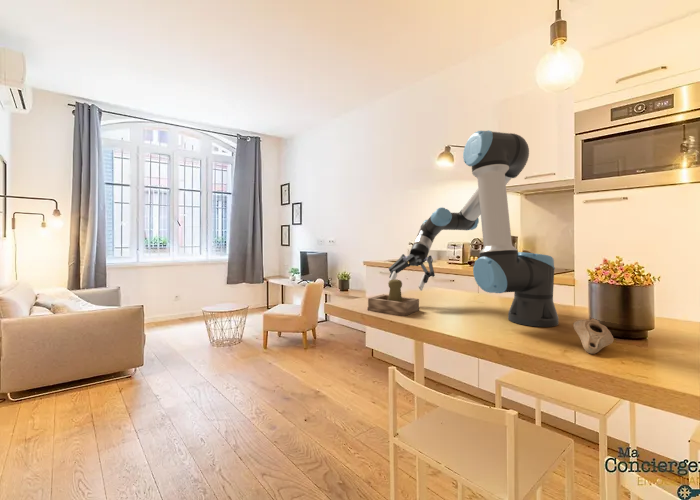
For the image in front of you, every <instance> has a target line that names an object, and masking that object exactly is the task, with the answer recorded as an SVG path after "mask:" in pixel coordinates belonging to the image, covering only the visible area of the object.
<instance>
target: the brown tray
mask: <svg viewBox="0 0 700 500" xmlns="http://www.w3.org/2000/svg"><path fill="white" fill-rule="evenodd" d="M388 298H389V294H384V293H383V294H380V295H376V296H372V297H369V298H368V299H367V305H368V306H367V311H371V312H378V313H383V314H390V315H395V316H403V317H406V316H408V315H411V314H413V313H417V312H418V311H420V299H419V298H414V297H405V296H402V302H398V301H390V300H388Z"/></svg>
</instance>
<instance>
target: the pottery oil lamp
mask: <svg viewBox="0 0 700 500" xmlns="http://www.w3.org/2000/svg"><path fill="white" fill-rule="evenodd" d="M572 324H573V325H572V327H573V329H574V331H575V332H576V334H577V336H578V338H579V340H580V341H581V342H580V343H581V344H582V347H583V349H584V351H585V352H587V353H588V354H590V355H595V354H597V353H598V352H600V351H601V350H602V349H603V348H605V347H607V346H610V345H611V344H613V342H614V336H613V335H612V332H611V330H610V329H608V327H607V326H605V325H603V324H602V323H600V321H599V320H597V319H596V318H591V319H578V320H575V321H574V322H573V323H572Z"/></svg>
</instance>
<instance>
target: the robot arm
mask: <svg viewBox="0 0 700 500" xmlns="http://www.w3.org/2000/svg"><path fill="white" fill-rule="evenodd" d="M462 152H463V156H462V158H463V162H464V164H466V166H468V167H471V174H472V176H474V177H475V178H476V179H477V187H478V188H477V189H476V190H475V192H474V193H473V194H472V196H471V197H469V200H468V201H467V202H466V203H465V204H464V206H463V208H461V210H460V211H459V212H451V211H450V210H449V209H448V208H445V207H438V208H436V210H435V211H433V212H432V214H431V215H430V216H429V218H428V219H425V220H424V221H423V222H422V224H421V225H420V228H419V231H418V233H417V235H416V238H415V240H414V242H413V243H412V246H411V248H410V251H409V254H408V255H405V254H401V256H400V257H399V258H398V259H397V260H396V261H395V262H394V263H393V264H392V265H391V266H390V267H388V271H389V273H390V275H389V276H388V277H389V280H388V282H387V284H388V283H389V281H390V280H393V279H397V277H398V274H399V273H400V272H401V271H403V270H405V269H406V268H409V267H414V266H415V267H419V266H420V267H421V269H422V271H423V272H424V273H422V276H421V278H420V281H419V283H418V289H419V291H423V290H424V289H423V288H424V287H425V284H427V283H428V282H429V278H430V277H435V274H436V273H435V270H434V266H433V260H434V259H433V258H432V255H429V253H430V251H431V247H432V245H433V242H434V241H435V239H436V236H438V235H439V234H440V233H441V231H473V230H475V229H477V228H478V225H479V223H480V222H479V221H480V219H481V232H482V243H483V248H482V249H481V251H479V257H478V258H477V259H475V262H474V265H473V267H472V269H473V270H472V272H473V277H474V280H475V282H476V284H477V285H478V287H480V289H481V290H483V291H484V292H486V293H489V294H493V293H495V294H503V293H513V294H514V296H513V297H514V298H513V299H512V303H511V304H510V307H509V310H508V314H507V317H508V318H507V319H508V321H510V322H512V323H514V324H515V323H516V324H517V325H518V324H519V325H522V326H523V325H524V326H530V327H538V328H539V327H541V328H543V327H544V328H545V327H546V328H548V327H549V328H550V327H551V328H552V327H556V326H558V325H559V315H558V312H557V309H556V306H555V303H554V302H555V301H554V287H555V285H554V284H555V283H554V281H555V269H556V268H555V260H554V258H553V256H551V255H547V254H543V253H533V252H523V251H522V252H520V251H519V250H518V249H517V248H516V247H515V246H513V242H512V234H511V224H510V214H509V204H508V193H507V185H508V184H509V182H510V181H511V180H512V179H515V178H517V177H519V175H520V174H521V172H522V171H523V170H524V168H525V167H526V165H527V163H528V161H529V156H530V148H529V145H528V143H527V141H526V139H525V138H524V137H523V136H521V135H519V134H517V133H511V132H510V133H509V132H508V133H507V132H499V131H492V130H477V131H475V132H474V133H473V134H471V135H470V137H468V139H467V141H466V143H465V145H464V148H463V151H462ZM479 217H480V219H479ZM425 262H427V263H428V268H429V271H428V269H427V268H426V265H425V264H424V263H425Z"/></svg>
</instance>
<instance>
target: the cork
mask: <svg viewBox="0 0 700 500" xmlns="http://www.w3.org/2000/svg"><path fill="white" fill-rule="evenodd" d="M389 280H390V279H389ZM389 280H388V282H389V283H388V282H387V284H388V288H389V292H388V295H389V298H388V300H390V301H398V302H402V297H403V296H402V290H401V289H402V288H403V282H402V280H400V279H397V278H396V279H393V280H390V281H389Z"/></svg>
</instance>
